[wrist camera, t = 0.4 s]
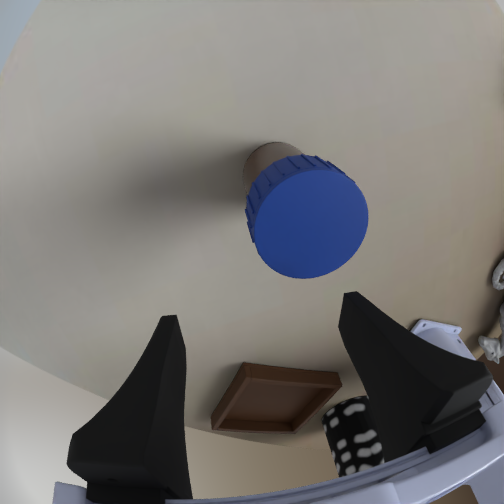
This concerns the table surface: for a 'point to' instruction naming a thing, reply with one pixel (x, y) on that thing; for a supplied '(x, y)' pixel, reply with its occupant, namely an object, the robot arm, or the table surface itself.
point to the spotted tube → (353, 436)
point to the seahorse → (493, 345)
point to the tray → (273, 399)
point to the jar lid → (305, 216)
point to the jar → (265, 160)
